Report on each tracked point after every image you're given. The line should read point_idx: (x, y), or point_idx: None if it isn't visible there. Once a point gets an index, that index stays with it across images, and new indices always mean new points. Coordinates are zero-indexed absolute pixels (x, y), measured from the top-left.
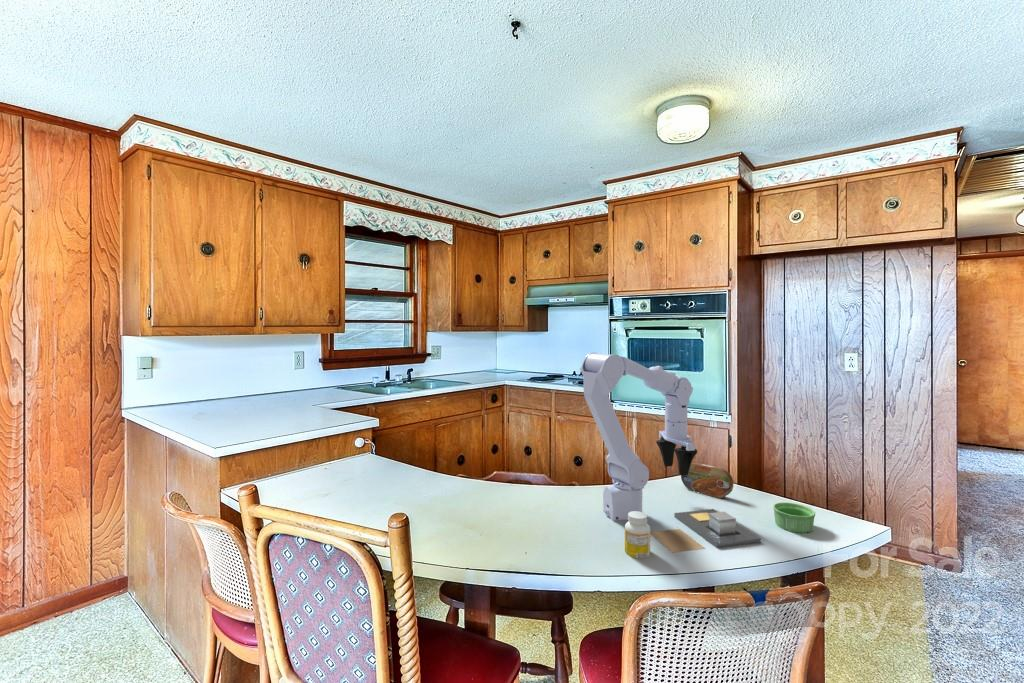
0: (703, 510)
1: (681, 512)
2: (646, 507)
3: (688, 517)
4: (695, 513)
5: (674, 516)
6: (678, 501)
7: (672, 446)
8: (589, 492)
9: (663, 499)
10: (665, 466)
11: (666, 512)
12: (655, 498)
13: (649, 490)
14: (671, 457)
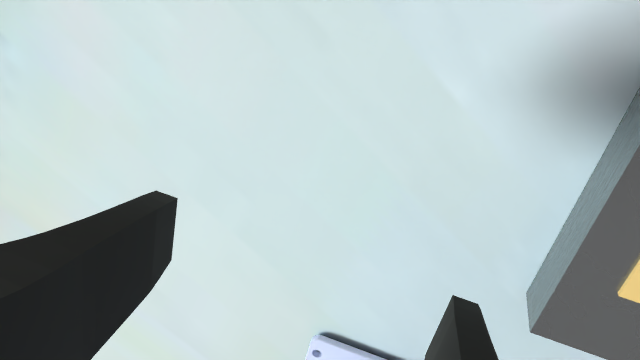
0: (637, 163)
1: (554, 299)
2: (291, 246)
3: (634, 326)
4: (629, 250)
5: (530, 319)
6: (298, 14)
7: (1, 348)
8: None
9: (231, 76)
10: (167, 258)
11: (397, 217)
12: (200, 106)
13: (75, 33)
14: (116, 256)
